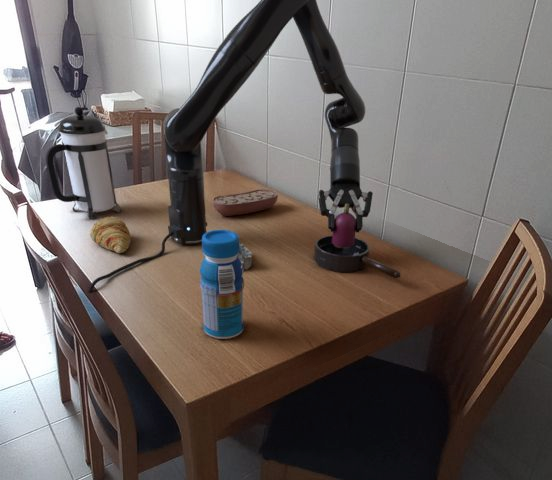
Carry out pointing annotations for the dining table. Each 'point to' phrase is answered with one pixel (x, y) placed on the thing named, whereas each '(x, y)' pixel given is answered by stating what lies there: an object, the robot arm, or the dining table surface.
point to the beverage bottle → (222, 284)
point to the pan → (340, 255)
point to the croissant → (111, 234)
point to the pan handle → (381, 267)
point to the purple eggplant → (344, 229)
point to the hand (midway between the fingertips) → (345, 230)
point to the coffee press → (84, 164)
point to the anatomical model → (245, 202)
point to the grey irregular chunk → (244, 256)
